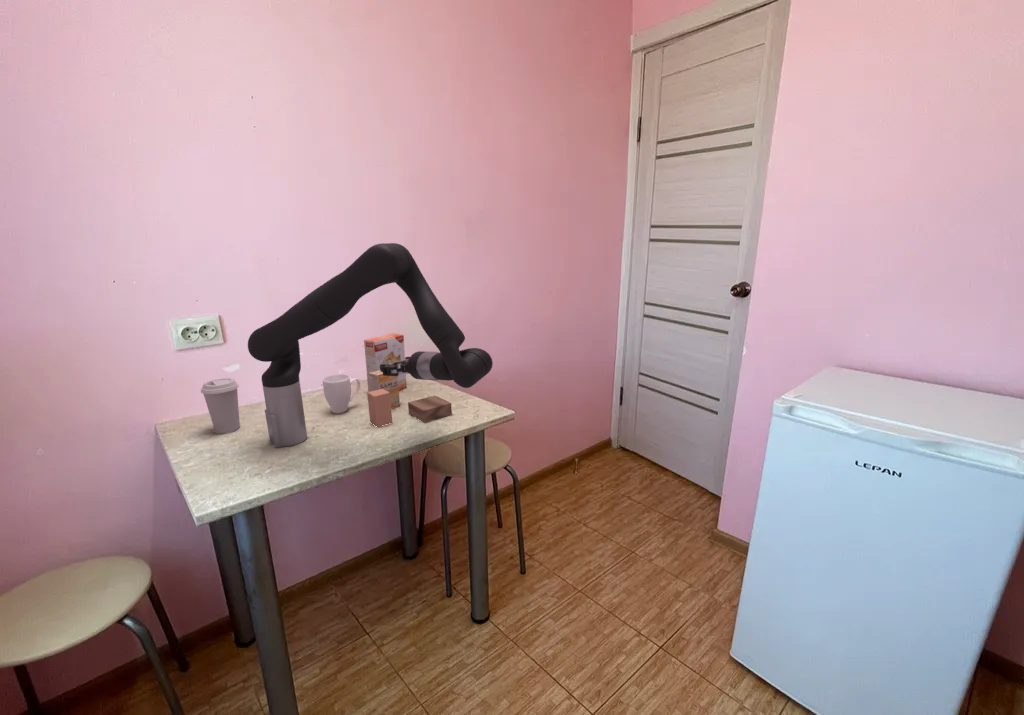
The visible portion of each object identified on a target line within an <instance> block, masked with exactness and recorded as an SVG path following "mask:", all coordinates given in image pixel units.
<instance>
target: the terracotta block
mask: <svg viewBox="0 0 1024 715" xmlns="http://www.w3.org/2000/svg"><path fill="white" fill-rule="evenodd" d="M366 395H367V403H368V404H367V405H368V413H369V416H368V417H369V423H370V422H371V423H372V424H371V423H370V424H371V425H373V424H374V425H375V426H377V427H378V428H380V427H379V426H381V427H383V426H382V425H385V424H388V425H390V424H389V423H392V424H393V415H392V414H393V413H392V408H391V401H390V393H389V392H388V391H386V390H384V389H380V390H375V391H371V392H368V391H367V393H366ZM374 425H373V426H374ZM375 426H374V427H375ZM385 426H386V425H385ZM377 427H376V428H377Z"/></svg>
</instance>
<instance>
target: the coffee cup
mask: <svg viewBox="0 0 1024 715" xmlns="http://www.w3.org/2000/svg"><path fill="white" fill-rule="evenodd" d="M239 387H240V386H239V384H238V382H236V380H235V379H234V378H231V377H224V378H223V377H221V378H215V379H211V380H208V381H206V382H204V383H203V384H202V387H201V388H200V393H201V394H203V396H204V401H205V403H206V407H207V409H208V413H209V416H210V419H211V423H212V426H213V430H214V433H215V434H218V435H219V434H220V435H221V434H229V433H232V432H235V431H237V430H239V429H240V427H241V424H240V423H241V422H240V411H239V410H240V409H239V396H238V394H239V393H238V388H239Z"/></svg>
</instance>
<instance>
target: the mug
mask: <svg viewBox="0 0 1024 715" xmlns="http://www.w3.org/2000/svg"><path fill="white" fill-rule="evenodd" d="M354 381H356V385H357V386H356V389H355V391H354V392H353V393H352V383H353V382H354ZM322 387H323V395H324V398H325V400H326V402H327V404H328V406H329V407H330V409H331V411H332V413H334V414H343V413H346V412H347V410H348V408H349V403H351V402H352V400H353V399H354V398H355V397H356V395H358V393H359V391H360V389H361V381H360V380H359V378H356V377H353V378H350V376H349V375H348V374H334V375H329V376H326V377H324V378H323V379H322ZM351 394H352V395H351ZM345 411H346V412H345Z"/></svg>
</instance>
